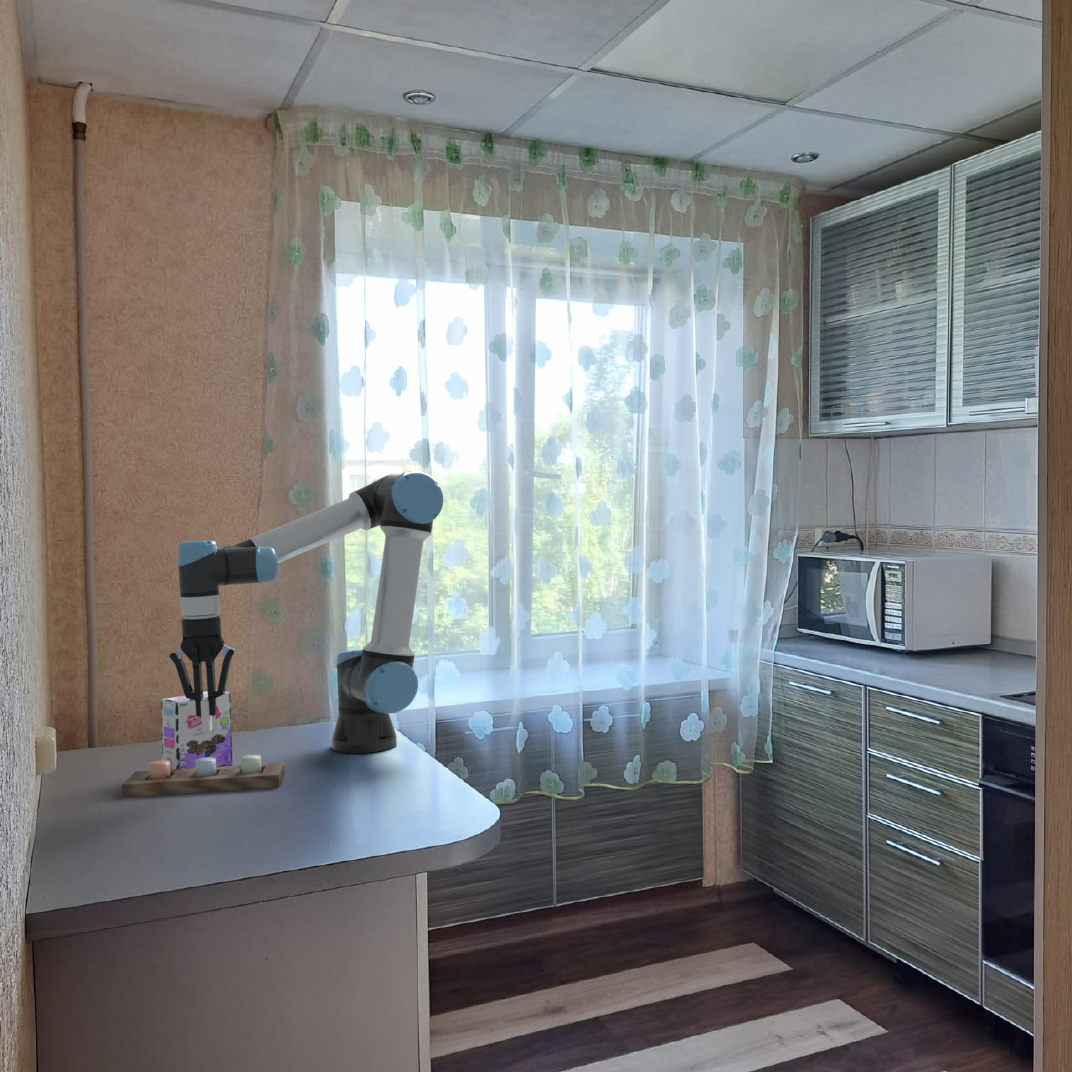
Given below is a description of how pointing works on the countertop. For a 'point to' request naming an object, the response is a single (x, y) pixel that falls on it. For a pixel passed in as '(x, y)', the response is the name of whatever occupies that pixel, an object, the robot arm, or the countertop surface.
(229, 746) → the candy box
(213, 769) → the button blue
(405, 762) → the countertop surface
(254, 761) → the button sage
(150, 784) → the panel
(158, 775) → the button terracotta
